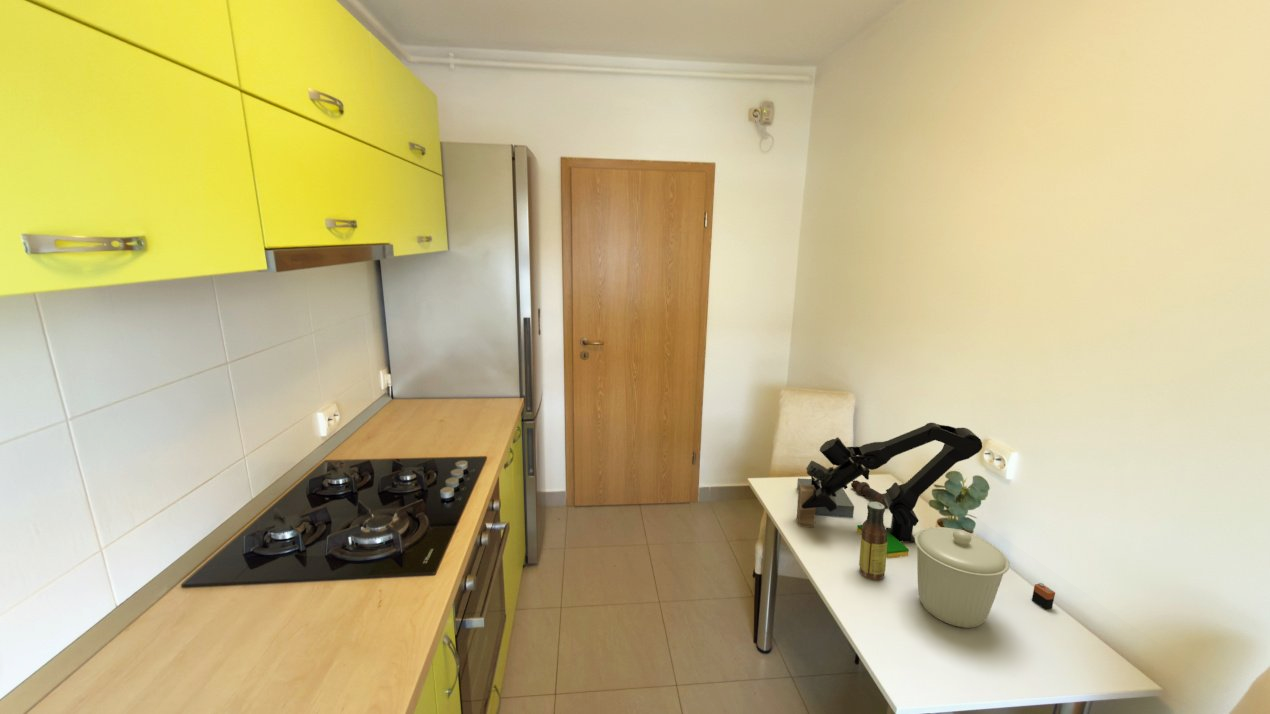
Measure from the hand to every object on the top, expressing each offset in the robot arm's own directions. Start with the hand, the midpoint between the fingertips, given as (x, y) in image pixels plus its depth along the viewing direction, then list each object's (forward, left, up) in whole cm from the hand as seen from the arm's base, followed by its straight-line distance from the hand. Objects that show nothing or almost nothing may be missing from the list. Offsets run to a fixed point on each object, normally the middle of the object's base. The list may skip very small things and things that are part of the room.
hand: (801, 503), depth 148 cm
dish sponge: (-8, -21, -7) cm, 24 cm away
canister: (-35, -27, -7) cm, 45 cm away
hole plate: (+14, -10, -7) cm, 19 cm away
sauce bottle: (-23, -13, -7) cm, 28 cm away
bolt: (+19, -27, -7) cm, 34 cm away
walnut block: (0, -1, -7) cm, 7 cm away
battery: (-30, -50, -7) cm, 59 cm away
